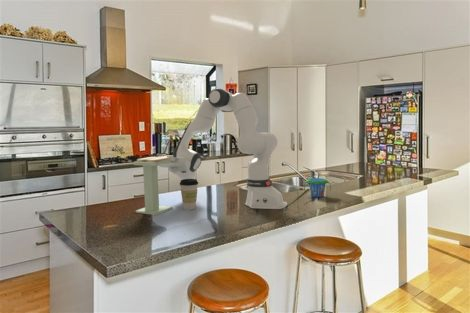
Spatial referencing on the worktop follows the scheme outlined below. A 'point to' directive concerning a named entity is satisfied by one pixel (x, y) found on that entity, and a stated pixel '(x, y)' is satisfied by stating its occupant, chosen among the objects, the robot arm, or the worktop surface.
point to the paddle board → (155, 159)
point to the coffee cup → (189, 193)
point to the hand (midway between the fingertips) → (163, 156)
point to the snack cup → (317, 186)
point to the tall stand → (152, 188)
